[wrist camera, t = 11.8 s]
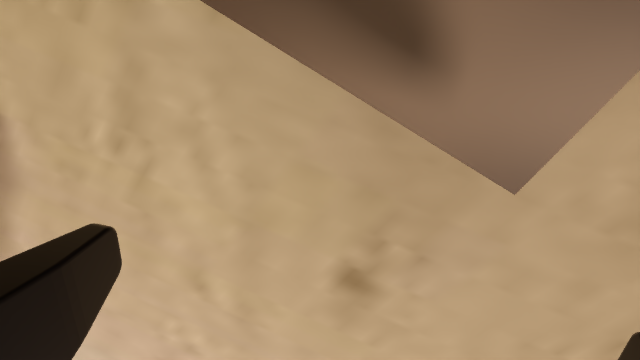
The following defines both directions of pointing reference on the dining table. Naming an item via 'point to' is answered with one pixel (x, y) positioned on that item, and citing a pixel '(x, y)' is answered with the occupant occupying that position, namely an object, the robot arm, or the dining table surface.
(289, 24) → the walnut stool
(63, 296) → the robot arm
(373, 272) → the dining table surface
